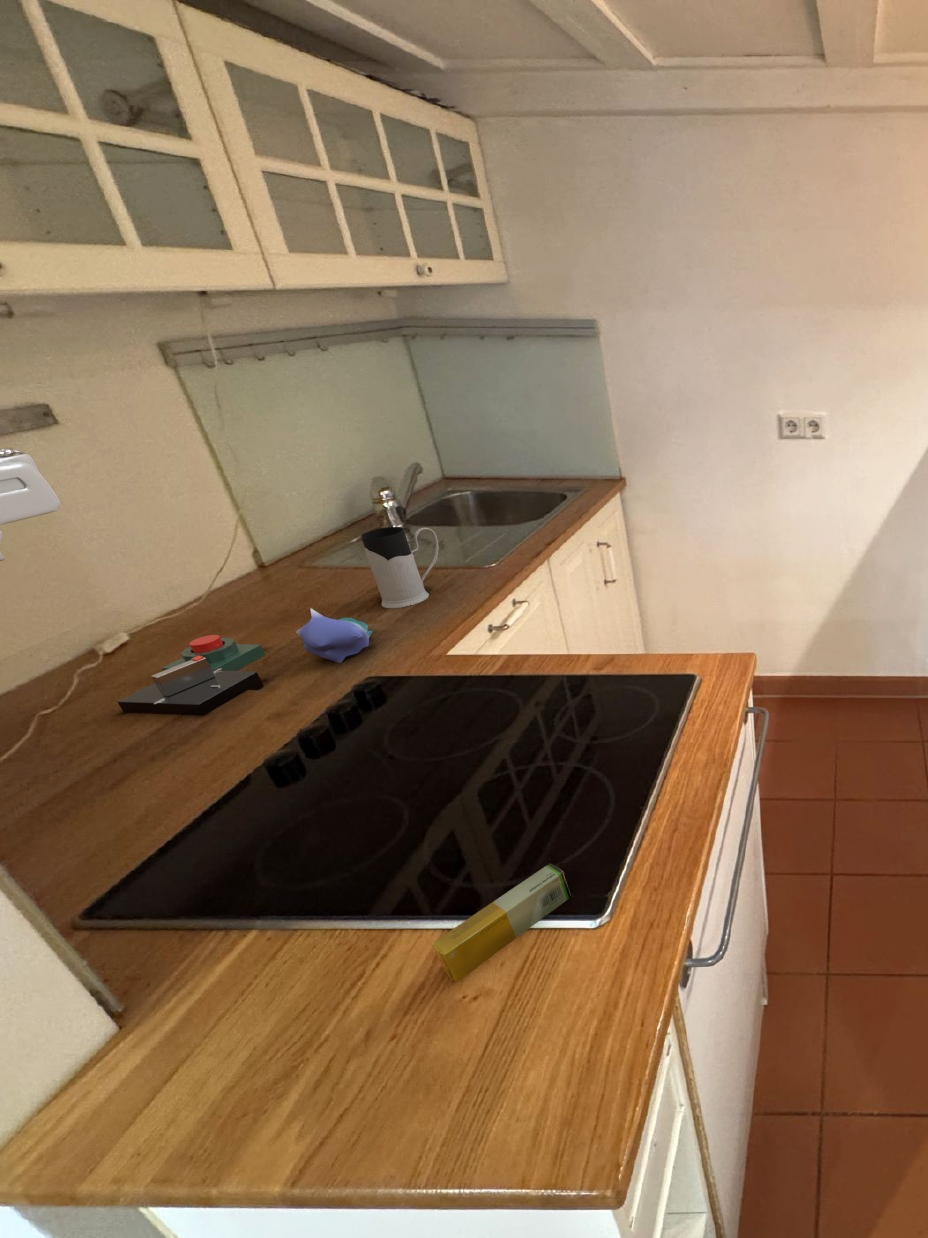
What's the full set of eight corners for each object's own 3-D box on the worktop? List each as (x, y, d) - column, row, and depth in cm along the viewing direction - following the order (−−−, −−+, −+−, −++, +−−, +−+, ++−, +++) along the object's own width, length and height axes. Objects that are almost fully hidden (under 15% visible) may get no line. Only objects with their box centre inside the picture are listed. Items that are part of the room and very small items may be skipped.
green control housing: (167, 679, 115) (156, 658, 114) (216, 654, 124) (207, 634, 122) (219, 680, 114) (208, 660, 113) (265, 655, 122) (256, 635, 121)
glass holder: (373, 602, 143) (348, 535, 136) (440, 580, 153) (420, 517, 147) (394, 611, 138) (369, 542, 132) (461, 588, 149) (441, 522, 142)
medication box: (560, 891, 71) (550, 860, 69) (575, 901, 69) (565, 870, 68) (443, 975, 62) (429, 942, 61) (456, 988, 60) (442, 955, 59)
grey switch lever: (167, 696, 104) (156, 675, 102) (161, 695, 104) (149, 674, 103) (215, 676, 109) (205, 656, 108) (209, 675, 110) (199, 654, 108)
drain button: (187, 654, 116) (182, 645, 115) (209, 643, 119) (205, 634, 119) (208, 654, 115) (203, 645, 115) (229, 643, 119) (225, 634, 118)
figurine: (338, 676, 126) (345, 631, 128) (393, 667, 124) (398, 621, 126) (268, 660, 114) (277, 610, 116) (327, 649, 112) (335, 599, 114)
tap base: (124, 719, 104) (113, 702, 103) (191, 683, 114) (183, 667, 112) (204, 722, 103) (195, 704, 101) (266, 685, 112) (258, 669, 111)
